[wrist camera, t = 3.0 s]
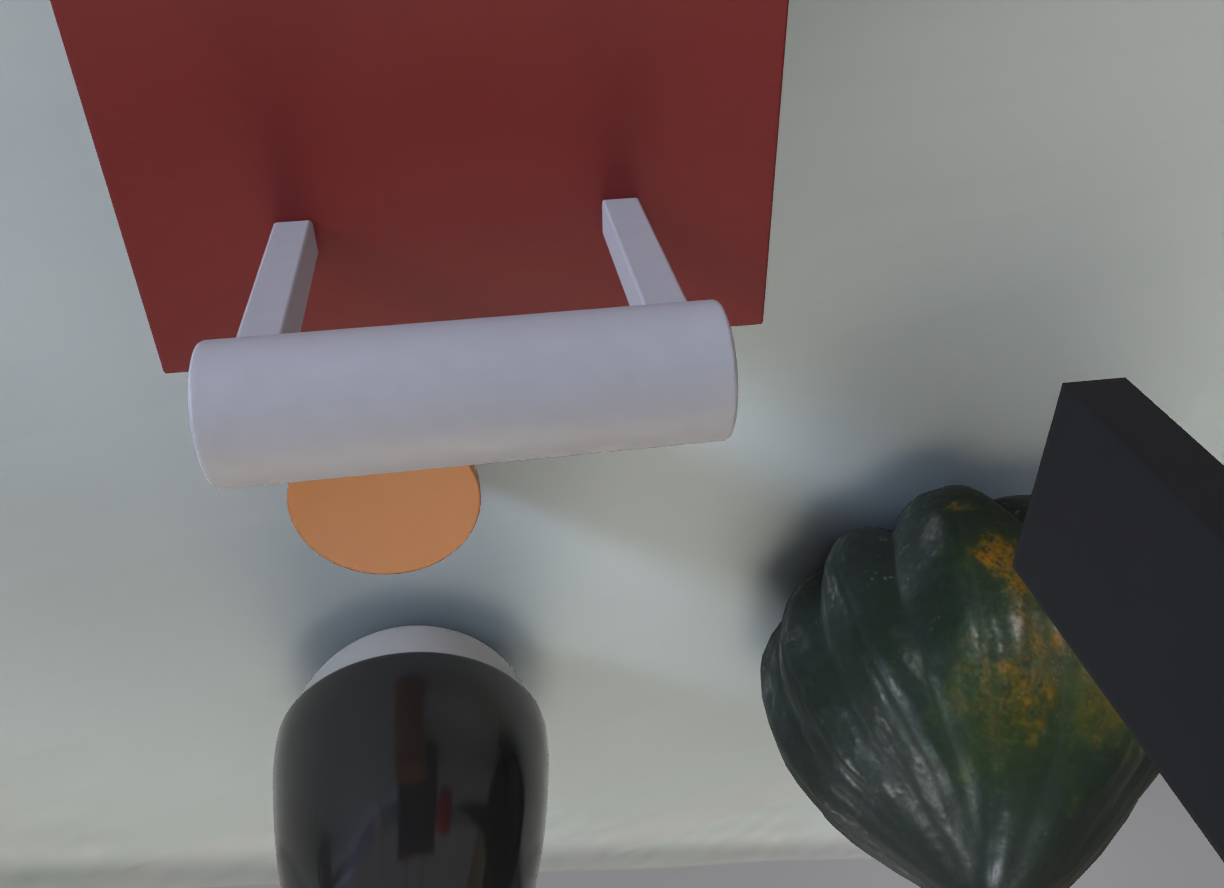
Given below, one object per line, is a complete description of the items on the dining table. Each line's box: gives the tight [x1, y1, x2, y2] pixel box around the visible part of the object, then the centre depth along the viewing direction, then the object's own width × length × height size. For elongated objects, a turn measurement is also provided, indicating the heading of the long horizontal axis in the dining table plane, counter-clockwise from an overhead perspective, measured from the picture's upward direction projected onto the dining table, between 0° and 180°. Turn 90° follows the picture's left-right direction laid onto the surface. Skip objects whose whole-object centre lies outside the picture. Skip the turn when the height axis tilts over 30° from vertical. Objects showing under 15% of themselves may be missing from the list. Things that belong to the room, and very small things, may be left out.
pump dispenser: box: [273, 625, 549, 888], centre depth 36 cm, size 10×10×15 cm
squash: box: [761, 485, 1160, 888], centre depth 38 cm, size 14×15×15 cm
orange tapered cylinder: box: [287, 465, 481, 574], centre depth 31 cm, size 5×5×6 cm
